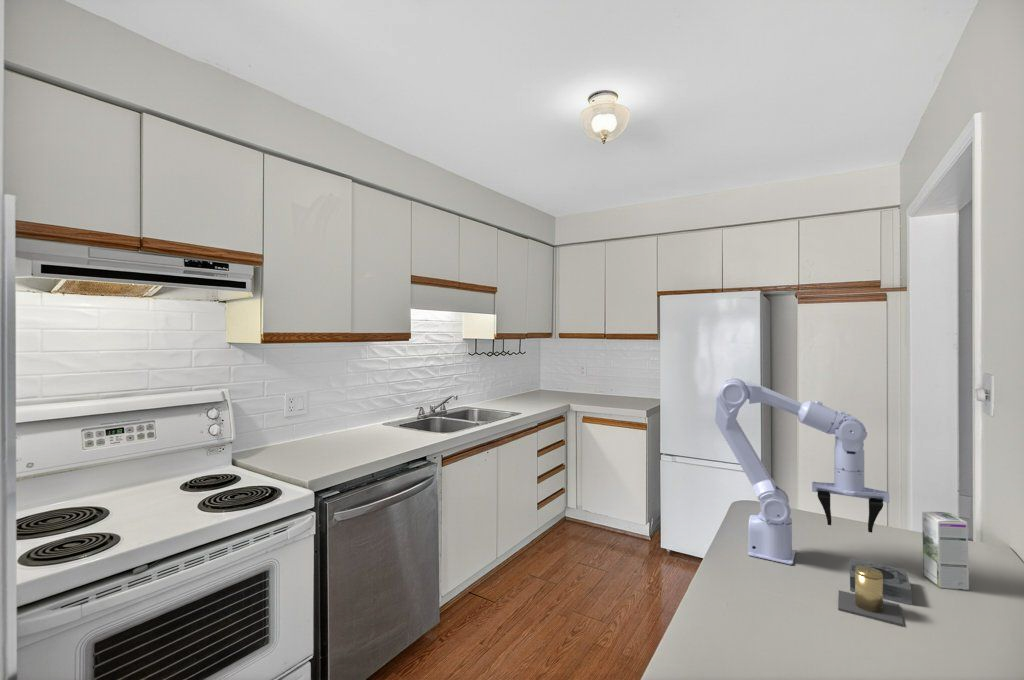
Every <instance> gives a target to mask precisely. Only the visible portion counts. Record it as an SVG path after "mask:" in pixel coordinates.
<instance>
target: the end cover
mask: <svg viewBox="0 0 1024 680" xmlns="http://www.w3.org/2000/svg"><path fill="white" fill-rule="evenodd" d="M854 594H855V604H856V605H857V606H858V607H859V608H861V609H863V610H865V611H868V612H873V613H880V612H882V611H883V601H884V598H883V573H882V572H881V571H879V570H877V569H875V568H872V567H868V566H856V567H855V592H854Z"/></svg>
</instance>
